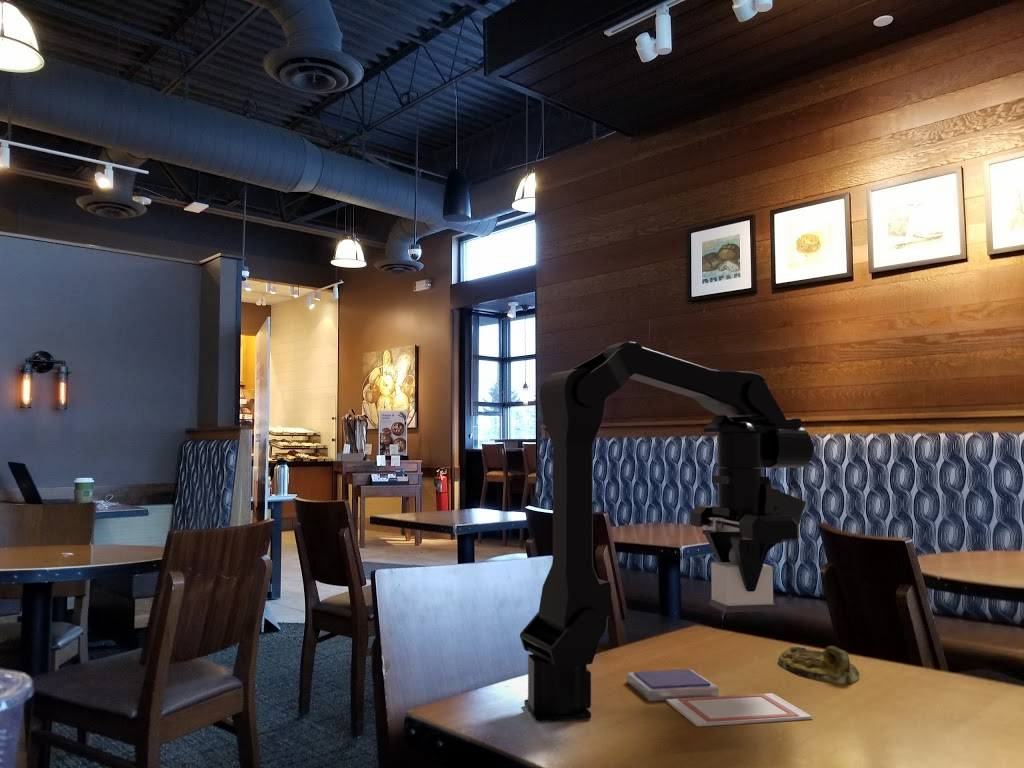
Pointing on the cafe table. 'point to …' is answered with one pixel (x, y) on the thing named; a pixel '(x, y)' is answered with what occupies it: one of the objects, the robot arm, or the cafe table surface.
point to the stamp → (740, 588)
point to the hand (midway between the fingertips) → (741, 588)
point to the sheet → (737, 709)
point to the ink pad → (671, 684)
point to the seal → (820, 664)
